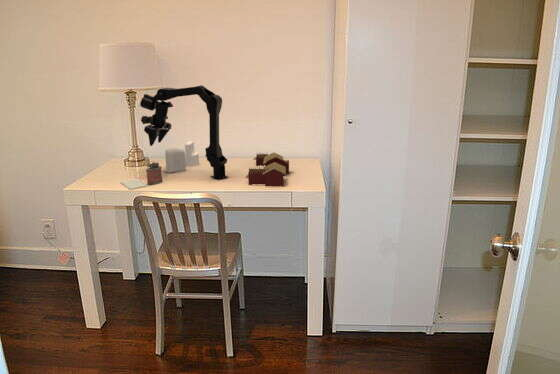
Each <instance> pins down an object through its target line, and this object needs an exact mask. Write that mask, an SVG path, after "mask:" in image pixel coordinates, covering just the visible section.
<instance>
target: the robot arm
mask: <svg viewBox="0 0 560 374" xmlns="http://www.w3.org/2000/svg"><path fill="white" fill-rule="evenodd" d="M195 95H197V96H198V97H199V98H200V100H202V102H204V103H205V107H206V111H207V113H208V116H209V118H208V119H209V120H208V121H209V123H208V124H209V146H207V147H206V148H205V149H204V150H205V156H204V157H206V161H208V163H209V165H210V166H211V167H210V168H212V171H213V172H212V174H213V175H210V178H212V179H214V180H215V181H216V180H223V179H228V178H229V176H228V175H226V165H225V164H227V163H228V158H226V157H225V156H224V154H223V151H222V147H221V145H220V114H221V110H222V105H223V98H222V97H221V96H220V95H219V94H216V93H215V92H214V91H211V90H209V89H208V88H207V87H205V86H204V85H201V84H200V85H196V86H189V87H181V88H174V87H163V88H160V89H158V90H157V91H156V94H155V95H154V96H152V95H150V94H147V93H145V94H143V97H142V98H141V100H140V103H139V106H140V108H143V109H145V110H149V111H150V112H151V111H154V110H155V111H154V114H152V115H150V116H149V115H148V116H147V115H142V117H141V118H140V121H141V123H142V125H146V124H148V125H146V126H144V129H143V131H144V132H145V133H146V134H147V135H148V140H149V146H151V147H153V145H154V144H155V141H156V140H157V142H158V143H161V142H162V141H163V139H164V138H165V137H166V135H167V134H168V132H170V130H171V129H172V126H173V125H172V124H171V122H169V121H168V122H166V121H167V120H168V118H169V117H168V112H169V108H172V107H174V105H173V103H172V102H171V101H168V100H172V99H174V98H179V97H187V96H195Z"/></svg>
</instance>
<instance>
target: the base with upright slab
mask: <svg viewBox="0 0 560 374" xmlns="http://www.w3.org/2000/svg"><path fill="white" fill-rule="evenodd" d="M184 151H185V164H186V167H187V168H188V167H189V168H190V167H191V168H192V167H197V166H199V165H200V157H199V156H200V155H199V152H197V151H196V152H195V141H194V140H188V141H187V142H186V143H184Z"/></svg>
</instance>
